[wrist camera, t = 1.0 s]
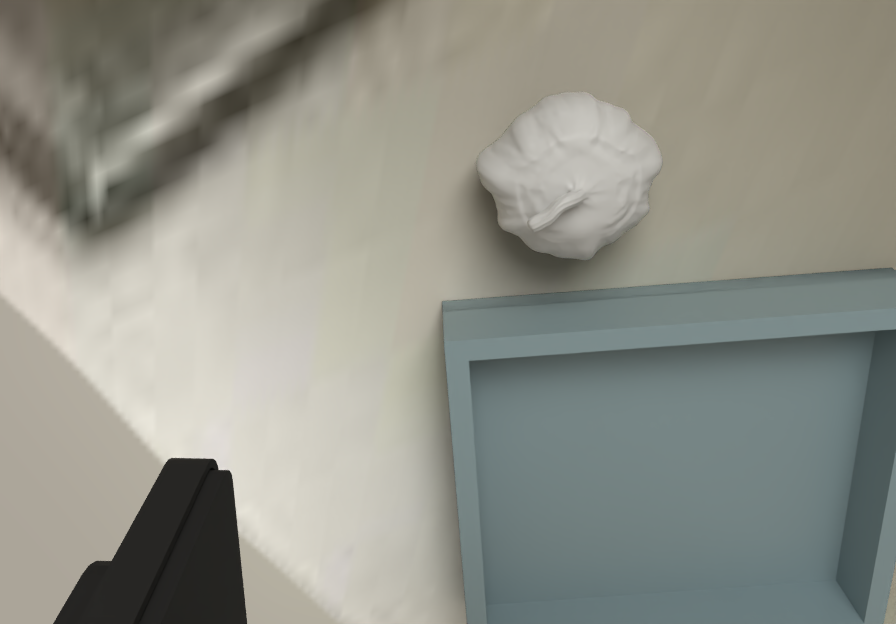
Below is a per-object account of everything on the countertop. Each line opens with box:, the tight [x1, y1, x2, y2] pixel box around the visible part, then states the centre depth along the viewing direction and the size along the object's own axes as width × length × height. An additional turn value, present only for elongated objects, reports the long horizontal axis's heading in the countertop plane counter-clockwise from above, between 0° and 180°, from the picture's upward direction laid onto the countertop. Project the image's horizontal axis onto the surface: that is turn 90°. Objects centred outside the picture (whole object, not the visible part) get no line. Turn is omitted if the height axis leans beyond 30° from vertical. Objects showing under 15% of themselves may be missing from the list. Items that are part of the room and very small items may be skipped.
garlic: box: [476, 92, 663, 260], centre depth 26 cm, size 6×5×5 cm
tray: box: [442, 268, 896, 624], centre depth 32 cm, size 17×15×4 cm
